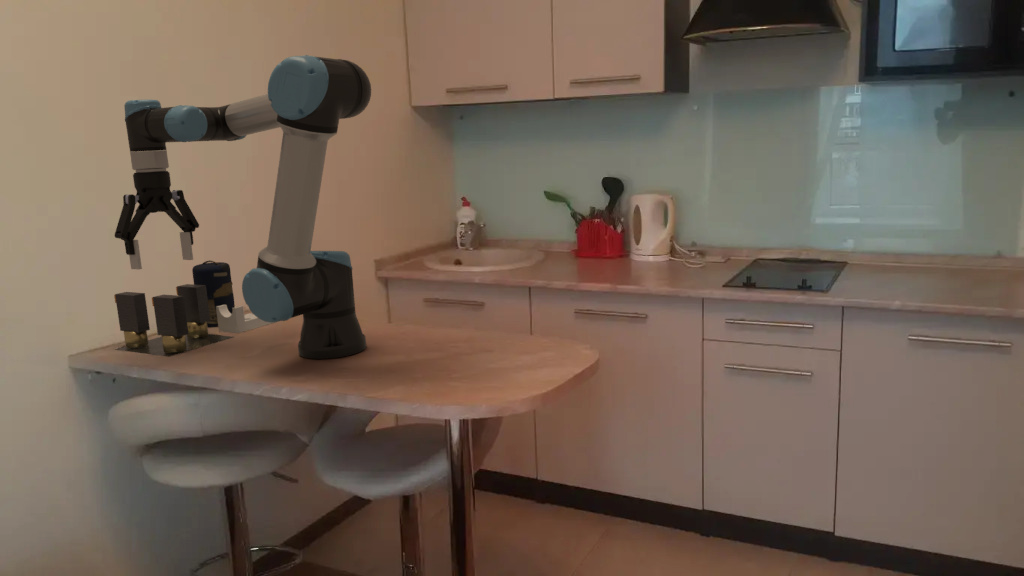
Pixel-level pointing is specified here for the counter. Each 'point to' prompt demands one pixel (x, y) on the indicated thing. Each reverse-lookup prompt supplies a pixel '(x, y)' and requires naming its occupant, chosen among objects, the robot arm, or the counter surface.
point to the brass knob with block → (133, 318)
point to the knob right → (195, 309)
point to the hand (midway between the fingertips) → (163, 264)
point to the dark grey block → (171, 321)
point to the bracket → (237, 320)
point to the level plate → (192, 343)
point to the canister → (215, 286)
